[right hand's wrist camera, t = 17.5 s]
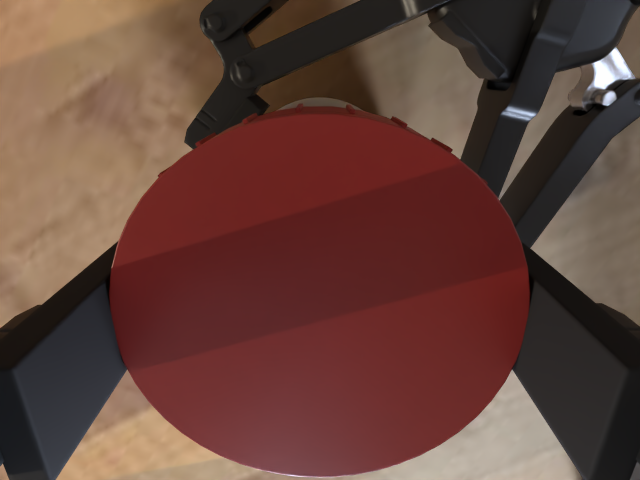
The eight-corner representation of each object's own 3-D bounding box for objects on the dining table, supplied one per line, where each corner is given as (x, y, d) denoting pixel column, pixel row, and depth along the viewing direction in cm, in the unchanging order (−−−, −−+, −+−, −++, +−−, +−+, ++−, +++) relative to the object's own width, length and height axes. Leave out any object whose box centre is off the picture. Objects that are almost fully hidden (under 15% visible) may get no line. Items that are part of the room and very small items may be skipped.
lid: (203, 444, 14) (185, 501, 12) (81, 150, 11) (29, 166, 9) (505, 397, 14) (535, 450, 12) (489, 62, 10) (530, 59, 8)
